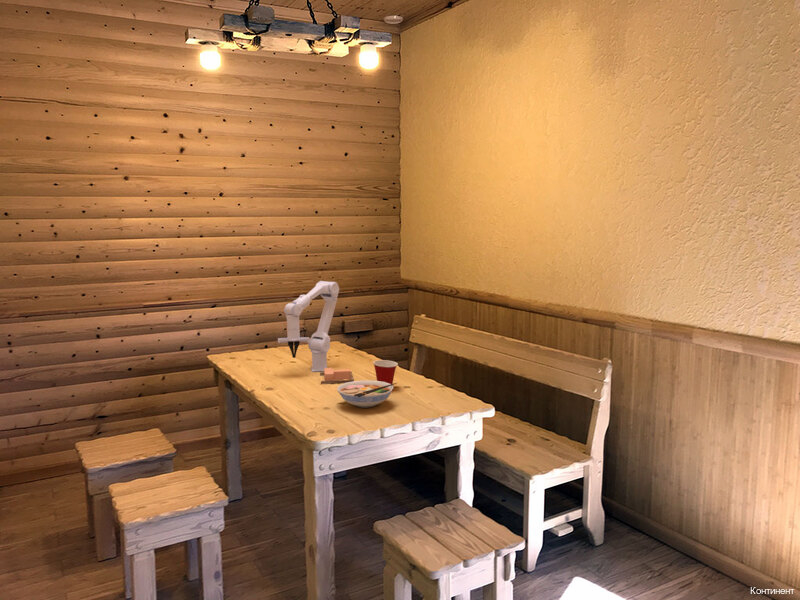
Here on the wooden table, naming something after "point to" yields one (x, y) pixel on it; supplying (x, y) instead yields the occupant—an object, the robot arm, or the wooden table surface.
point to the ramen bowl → (365, 392)
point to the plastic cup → (385, 370)
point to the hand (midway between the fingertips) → (294, 357)
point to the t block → (336, 374)
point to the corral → (336, 380)
